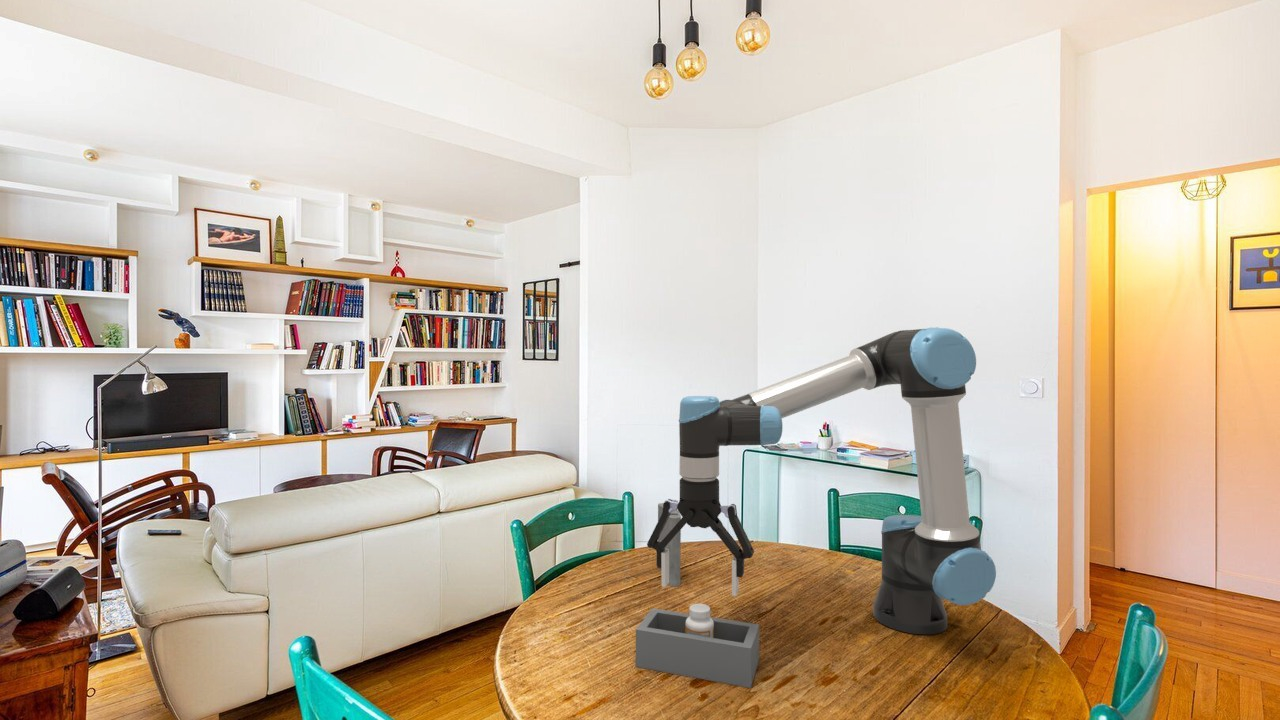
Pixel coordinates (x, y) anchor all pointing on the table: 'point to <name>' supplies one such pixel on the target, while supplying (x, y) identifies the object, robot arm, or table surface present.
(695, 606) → the supplement bottle
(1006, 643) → the table surface
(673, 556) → the hip flask
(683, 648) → the tray
